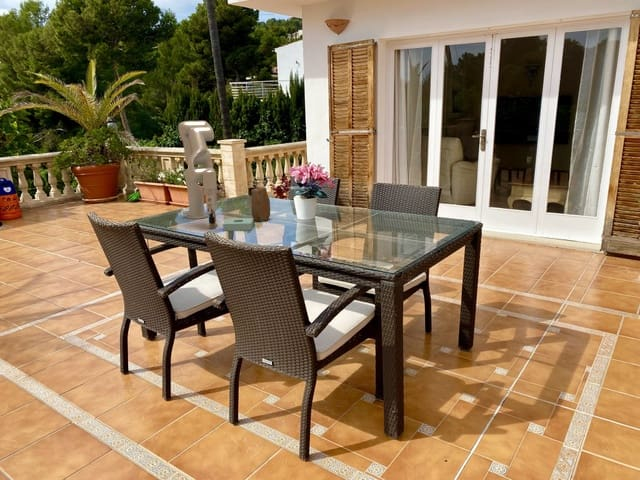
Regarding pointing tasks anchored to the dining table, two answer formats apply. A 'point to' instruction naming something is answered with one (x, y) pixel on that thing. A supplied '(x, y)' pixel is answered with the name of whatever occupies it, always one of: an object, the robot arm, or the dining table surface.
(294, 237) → the dining table surface
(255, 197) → the brown upright rounded piece
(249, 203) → the glass holder
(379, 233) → the dining table surface
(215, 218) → the peg
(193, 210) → the robot arm
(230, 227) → the socket board
